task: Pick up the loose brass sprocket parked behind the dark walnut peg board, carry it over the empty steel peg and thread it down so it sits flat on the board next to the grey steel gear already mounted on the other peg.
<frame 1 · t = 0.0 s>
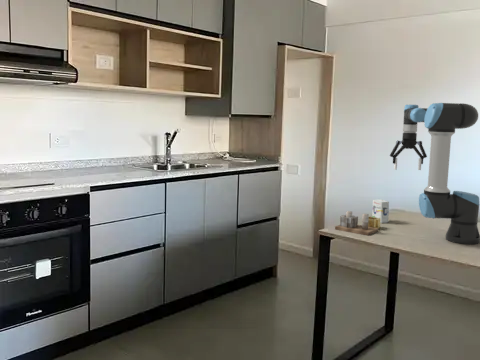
hand: (407, 169, 283), 28 cm above the table, fingers open, 13 cm apart
ink box: (379, 221, 276), on the table
brass gear: (371, 227, 261), on the table
gear board: (356, 230, 254), on the table
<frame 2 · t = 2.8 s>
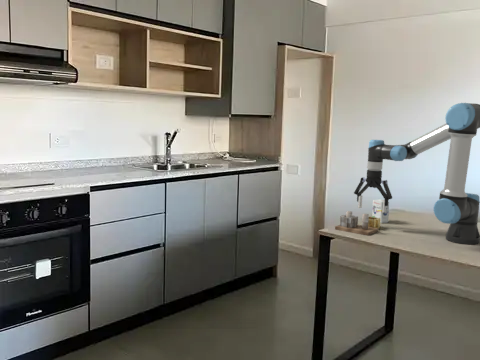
hand: (371, 210, 260), 9 cm above the table, fingers open, 13 cm apart
nothing on the table moved.
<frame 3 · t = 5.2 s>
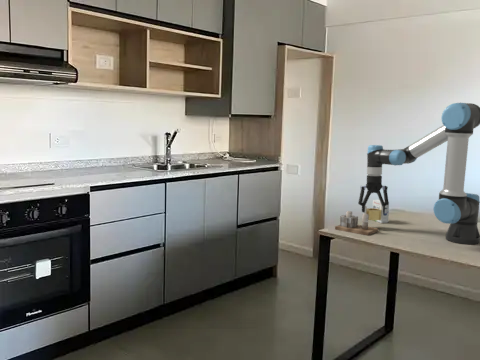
hand: (373, 218, 259), 5 cm above the table, fingers closed on brass gear, 8 cm apart
brass gear: (372, 218, 259), point 5 cm above the table, touching gripper
everything else where it was.
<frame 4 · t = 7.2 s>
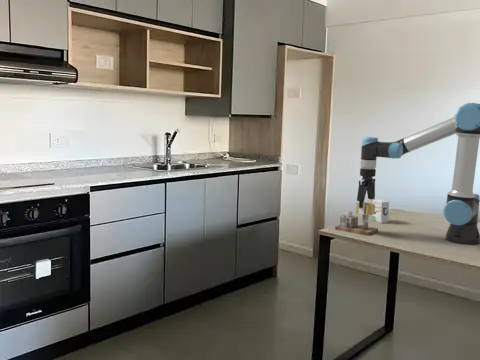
hand: (365, 213, 250), 10 cm above the table, fingers closed on brass gear, 8 cm apart
brass gear: (365, 213, 250), point 9 cm above the table, touching gripper
everything else where it was.
when the fingers open (2 cm above the table, at t = 9.2 s): brass gear stays where it is, resting on gear board.
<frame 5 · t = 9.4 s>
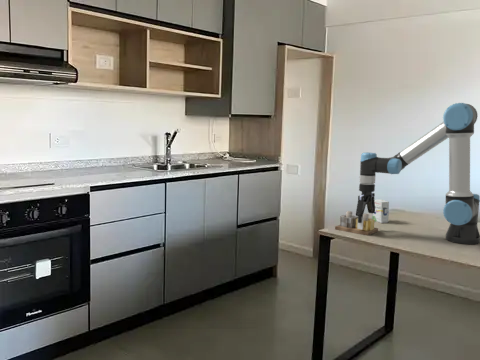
hand: (364, 227, 251), 2 cm above the table, fingers open, 9 cm apart
brass gear: (364, 228, 251), point 1 cm above the table, touching gear board
everything else where it was.
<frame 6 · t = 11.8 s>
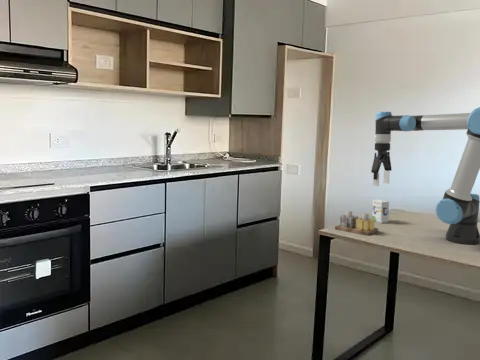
hand: (381, 184, 252), 24 cm above the table, fingers open, 13 cm apart
nothing on the table moved.
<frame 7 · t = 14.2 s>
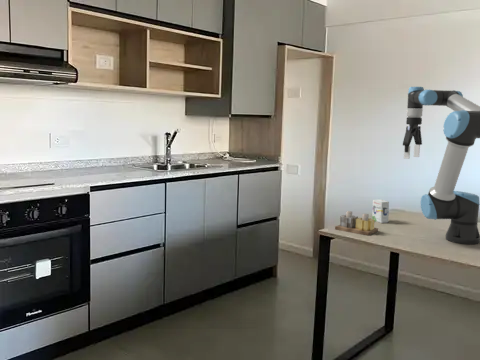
hand: (411, 157, 261), 37 cm above the table, fingers open, 13 cm apart
nothing on the table moved.
at the end: brass gear 0.1 cm from the target spot on the gear board, point 1.5 cm above the gear board's base; brass gear tilted 0°; the gripper is holding nothing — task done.
